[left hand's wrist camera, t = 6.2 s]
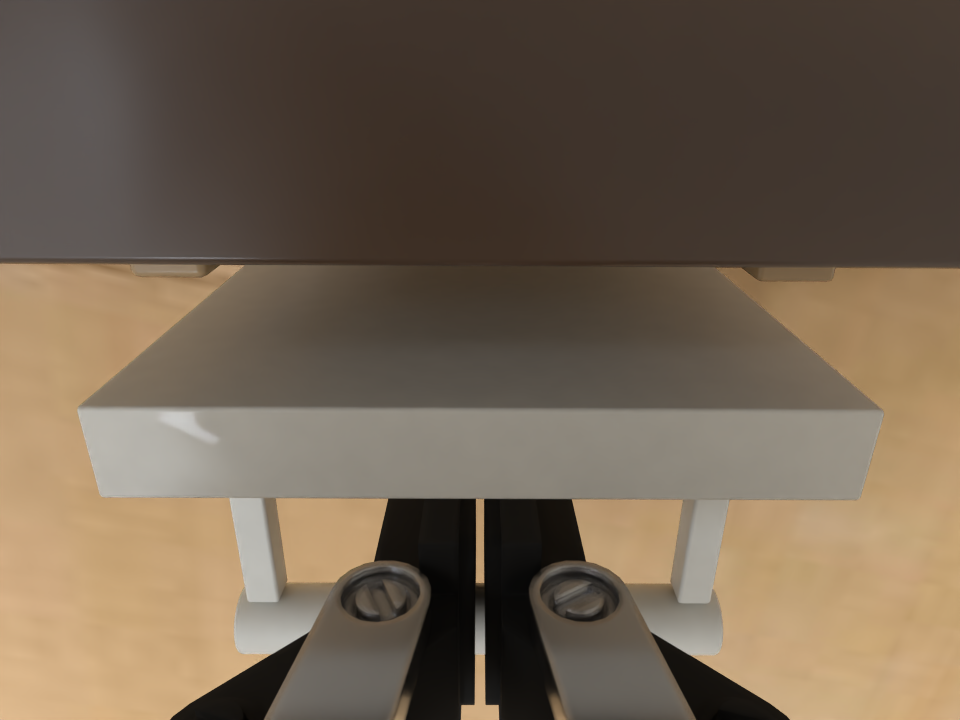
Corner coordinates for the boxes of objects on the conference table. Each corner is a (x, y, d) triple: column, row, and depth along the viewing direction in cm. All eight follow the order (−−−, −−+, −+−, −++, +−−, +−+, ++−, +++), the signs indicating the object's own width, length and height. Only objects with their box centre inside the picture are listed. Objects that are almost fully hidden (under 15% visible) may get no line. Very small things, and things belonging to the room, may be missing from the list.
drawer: (656, 507, 17) (774, 803, 10) (300, 505, 17) (181, 802, 10) (791, -482, 10) (1502, -1734, 3) (177, -489, 10) (-520, -1772, 3)
